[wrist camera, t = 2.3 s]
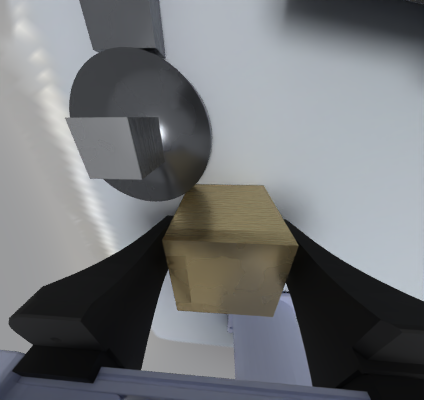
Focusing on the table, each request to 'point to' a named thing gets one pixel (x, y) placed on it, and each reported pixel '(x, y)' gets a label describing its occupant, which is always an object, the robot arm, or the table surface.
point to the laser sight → (417, 1)
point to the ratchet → (136, 106)
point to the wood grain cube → (228, 251)
